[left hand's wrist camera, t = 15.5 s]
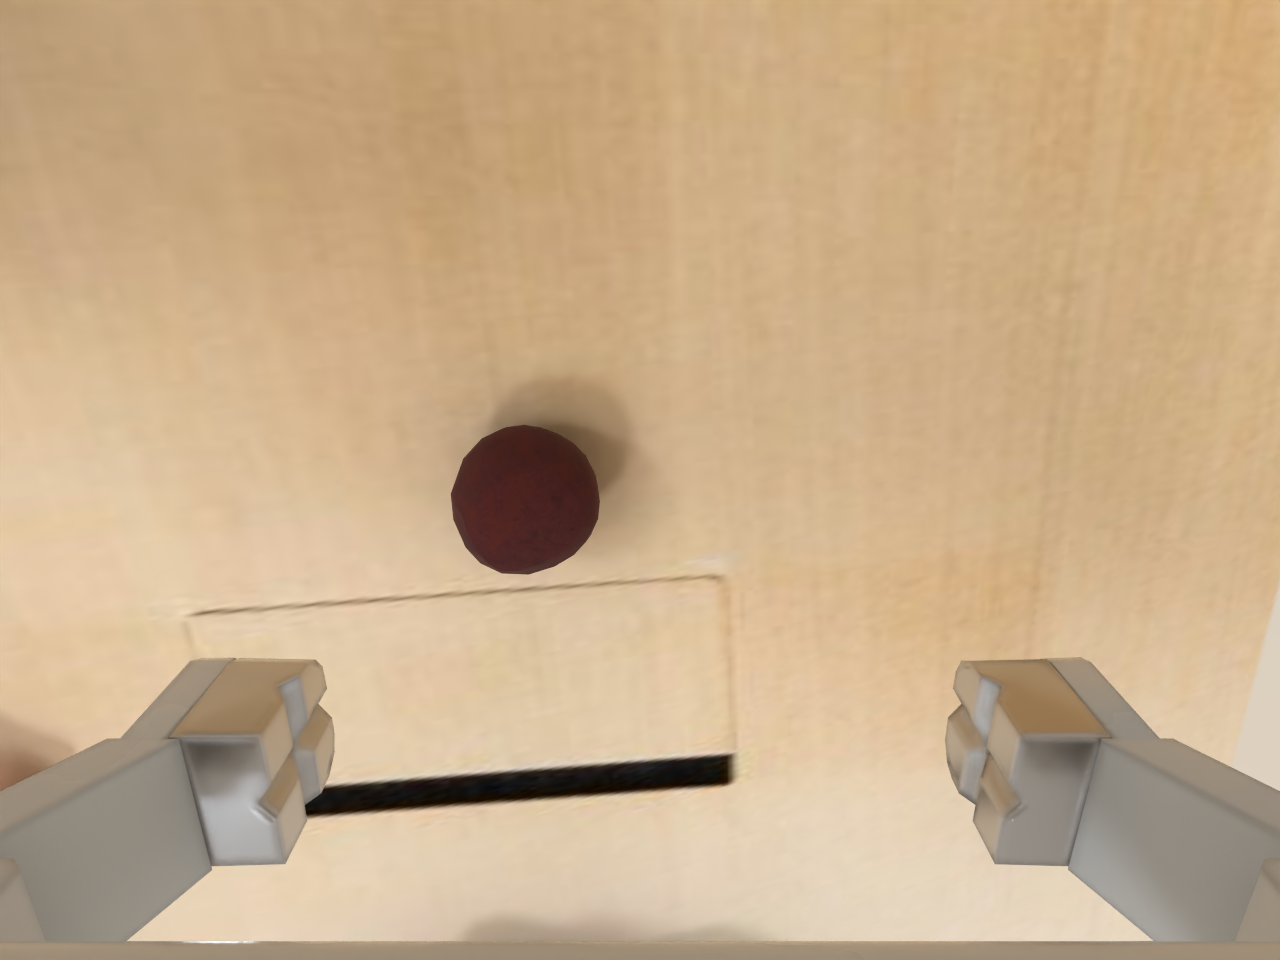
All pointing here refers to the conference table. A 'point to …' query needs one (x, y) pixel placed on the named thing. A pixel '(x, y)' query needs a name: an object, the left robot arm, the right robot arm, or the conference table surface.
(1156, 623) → the conference table surface
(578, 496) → the dark maroon ball
